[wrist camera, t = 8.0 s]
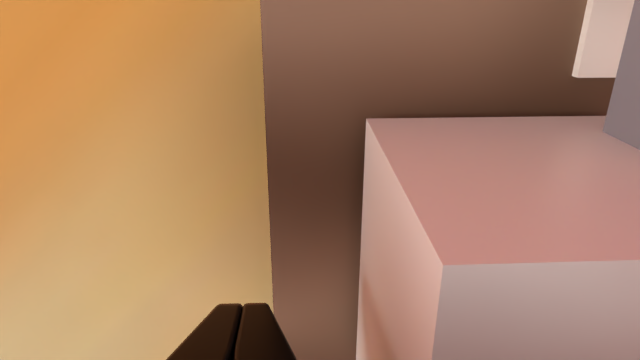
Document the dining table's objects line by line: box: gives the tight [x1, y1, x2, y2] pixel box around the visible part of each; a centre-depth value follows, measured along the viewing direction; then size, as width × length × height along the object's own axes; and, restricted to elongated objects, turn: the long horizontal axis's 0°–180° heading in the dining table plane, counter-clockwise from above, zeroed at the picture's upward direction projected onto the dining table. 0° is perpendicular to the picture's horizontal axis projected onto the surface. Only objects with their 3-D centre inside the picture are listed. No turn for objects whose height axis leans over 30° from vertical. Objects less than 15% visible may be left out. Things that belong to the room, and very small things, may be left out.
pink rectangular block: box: [356, 0, 640, 360], centre depth 7 cm, size 10×5×5 cm, turn 0°
